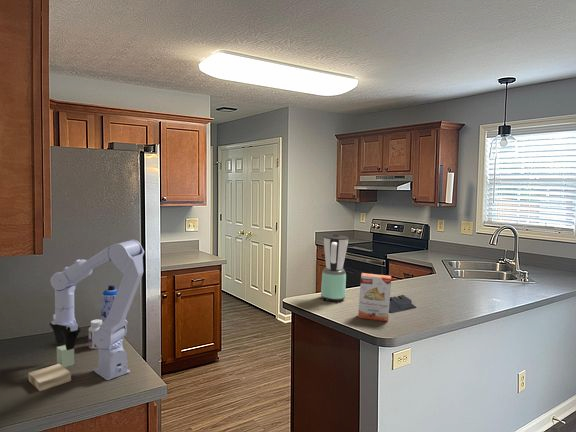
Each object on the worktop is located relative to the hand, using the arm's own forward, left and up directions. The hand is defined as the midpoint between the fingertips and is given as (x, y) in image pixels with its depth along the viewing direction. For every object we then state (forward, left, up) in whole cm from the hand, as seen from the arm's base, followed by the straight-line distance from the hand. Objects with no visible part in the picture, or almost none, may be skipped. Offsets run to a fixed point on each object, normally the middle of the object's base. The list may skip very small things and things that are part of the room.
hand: (65, 345), depth 144 cm
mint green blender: (-20, -130, -7) cm, 132 cm away
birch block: (-8, +8, -7) cm, 13 cm away
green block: (0, 0, -7) cm, 7 cm away
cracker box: (-50, -120, -7) cm, 130 cm away
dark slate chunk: (-48, -145, -7) cm, 153 cm away
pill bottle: (+7, -14, -7) cm, 17 cm away
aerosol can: (+14, -23, -7) cm, 28 cm away
